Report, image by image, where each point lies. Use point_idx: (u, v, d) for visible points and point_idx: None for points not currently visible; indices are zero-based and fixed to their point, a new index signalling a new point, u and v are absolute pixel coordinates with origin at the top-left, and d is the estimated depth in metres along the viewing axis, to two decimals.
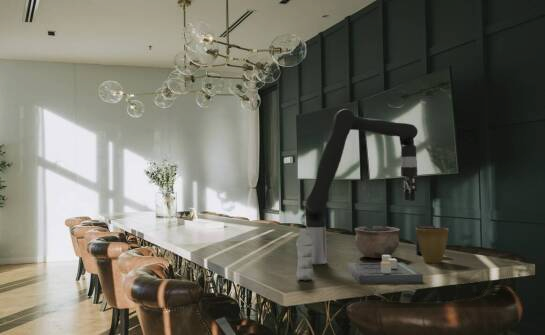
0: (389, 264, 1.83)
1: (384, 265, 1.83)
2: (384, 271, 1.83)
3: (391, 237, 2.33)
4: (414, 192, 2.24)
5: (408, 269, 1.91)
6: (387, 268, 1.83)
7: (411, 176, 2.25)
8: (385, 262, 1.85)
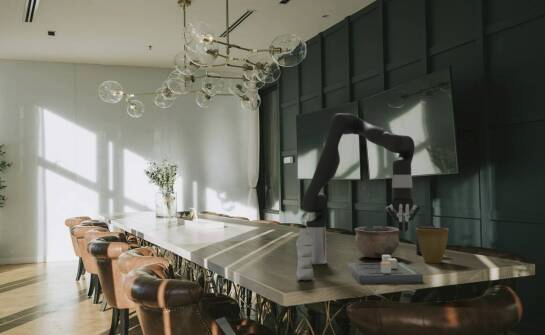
0: (389, 264, 1.83)
1: (384, 265, 1.83)
2: (384, 271, 1.83)
3: (391, 237, 2.33)
4: None
5: (408, 269, 1.91)
6: (387, 268, 1.83)
7: None
8: (385, 262, 1.85)
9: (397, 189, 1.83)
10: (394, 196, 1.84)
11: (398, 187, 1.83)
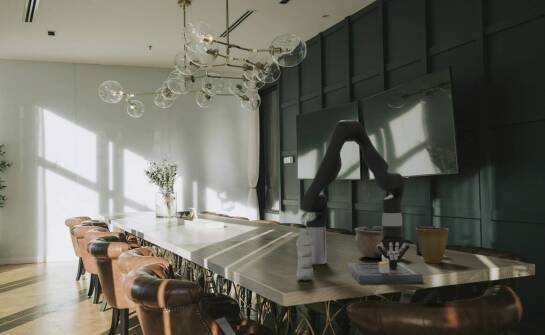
0: (387, 264, 1.83)
1: (382, 265, 1.83)
2: (382, 271, 1.83)
3: None
4: None
5: (408, 269, 1.91)
6: (385, 268, 1.83)
7: None
8: (383, 262, 1.85)
9: (387, 227, 1.83)
10: (384, 234, 1.84)
11: (388, 226, 1.83)
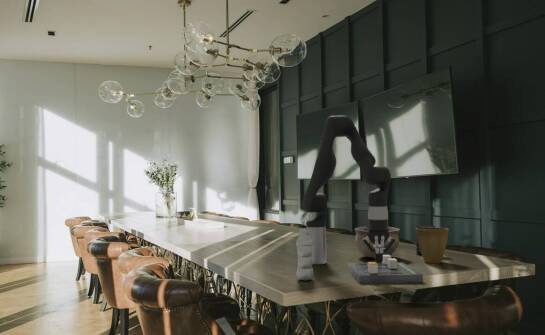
0: (376, 264, 1.83)
1: (371, 265, 1.83)
2: (371, 271, 1.83)
3: None
4: None
5: (408, 269, 1.91)
6: (374, 268, 1.83)
7: None
8: (372, 262, 1.86)
9: (372, 221, 1.83)
10: (370, 228, 1.84)
11: (373, 219, 1.83)
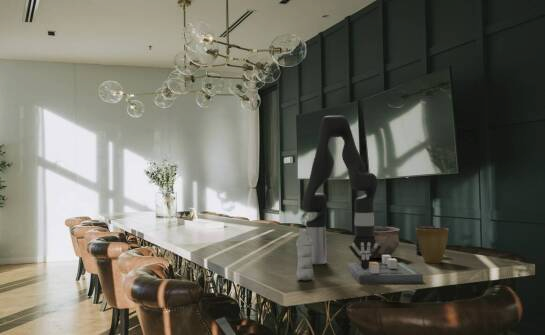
0: (377, 264, 1.83)
1: (372, 265, 1.83)
2: (372, 271, 1.83)
3: (391, 237, 2.33)
4: None
5: (408, 269, 1.91)
6: (375, 268, 1.83)
7: None
8: (373, 262, 1.86)
9: (358, 227, 1.83)
10: (356, 234, 1.84)
11: (359, 225, 1.82)
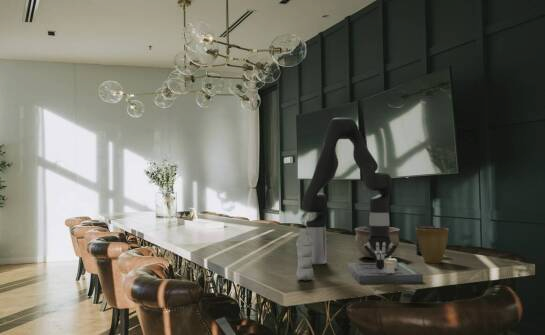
0: (392, 264, 1.83)
1: (387, 265, 1.83)
2: (387, 271, 1.83)
3: (391, 237, 2.33)
4: None
5: (408, 269, 1.91)
6: (390, 268, 1.83)
7: None
8: (388, 262, 1.85)
9: (374, 227, 1.83)
10: (371, 234, 1.84)
11: (375, 225, 1.82)
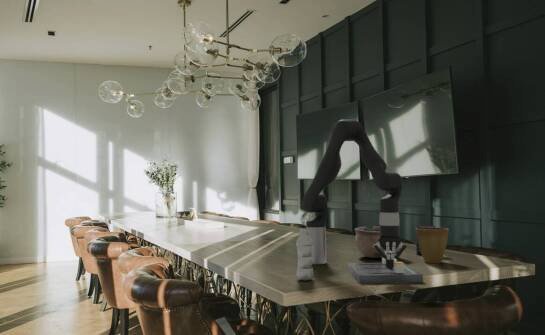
0: (402, 264, 1.83)
1: (397, 265, 1.83)
2: (397, 271, 1.83)
3: None
4: None
5: (408, 269, 1.91)
6: (400, 268, 1.83)
7: None
8: (398, 262, 1.85)
9: (384, 227, 1.83)
10: (381, 234, 1.84)
11: (385, 225, 1.82)
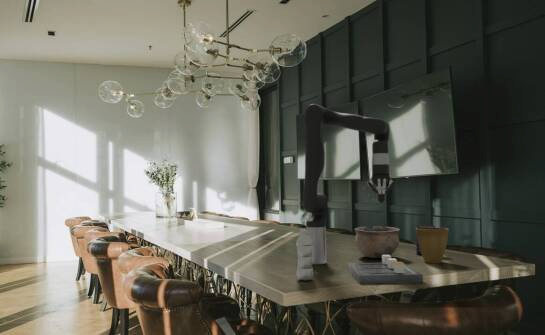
0: (402, 264, 1.83)
1: (397, 265, 1.83)
2: (397, 271, 1.83)
3: (391, 237, 2.33)
4: None
5: (408, 269, 1.91)
6: (400, 268, 1.83)
7: None
8: (398, 262, 1.85)
9: (376, 166, 2.11)
10: (373, 172, 2.13)
11: (376, 164, 2.11)
